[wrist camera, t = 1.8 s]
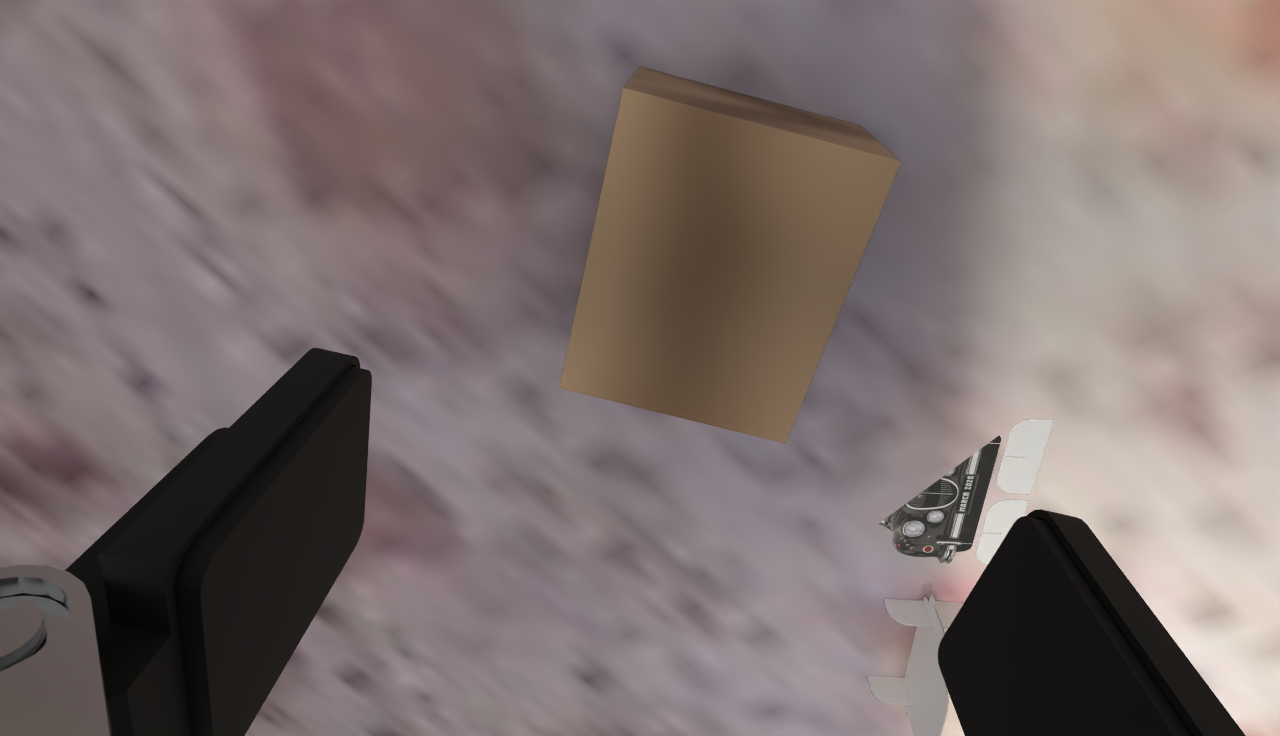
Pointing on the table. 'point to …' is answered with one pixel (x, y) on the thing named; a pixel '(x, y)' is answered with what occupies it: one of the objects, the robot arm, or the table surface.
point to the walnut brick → (721, 253)
